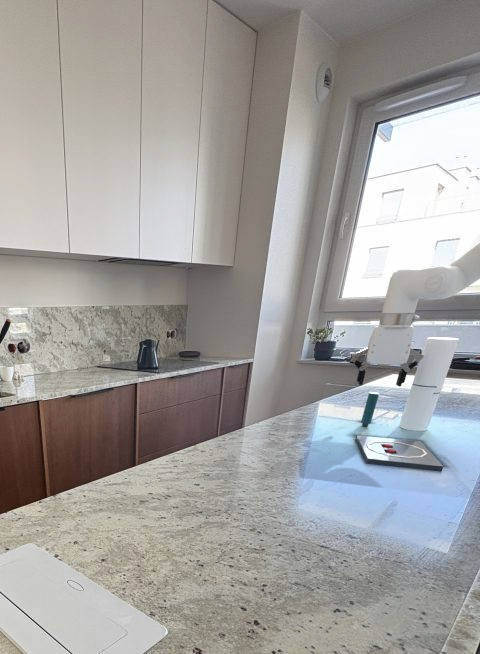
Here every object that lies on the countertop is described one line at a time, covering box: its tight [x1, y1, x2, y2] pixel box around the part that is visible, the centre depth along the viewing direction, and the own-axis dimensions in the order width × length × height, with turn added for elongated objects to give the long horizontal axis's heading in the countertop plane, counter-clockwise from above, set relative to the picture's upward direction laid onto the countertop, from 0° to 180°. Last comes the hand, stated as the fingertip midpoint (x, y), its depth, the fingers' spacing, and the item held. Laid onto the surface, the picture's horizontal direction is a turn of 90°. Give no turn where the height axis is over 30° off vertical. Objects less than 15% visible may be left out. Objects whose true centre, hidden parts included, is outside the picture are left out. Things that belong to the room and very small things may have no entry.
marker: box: [360, 391, 380, 428], centre depth 127 cm, size 3×3×10 cm
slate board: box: [355, 435, 444, 472], centre depth 106 cm, size 15×20×1 cm
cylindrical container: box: [398, 336, 460, 432], centre depth 121 cm, size 7×7×25 cm
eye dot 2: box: [386, 449, 395, 453], centre depth 105 cm, size 2×2×1 cm
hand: (379, 385), depth 123 cm, fingers open, 9 cm apart
